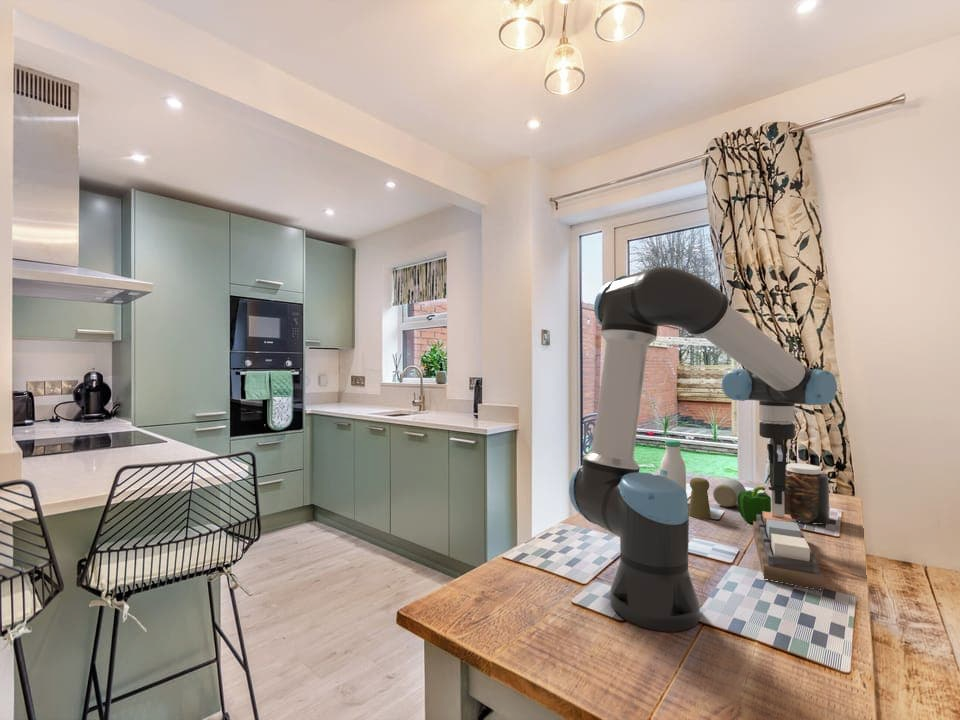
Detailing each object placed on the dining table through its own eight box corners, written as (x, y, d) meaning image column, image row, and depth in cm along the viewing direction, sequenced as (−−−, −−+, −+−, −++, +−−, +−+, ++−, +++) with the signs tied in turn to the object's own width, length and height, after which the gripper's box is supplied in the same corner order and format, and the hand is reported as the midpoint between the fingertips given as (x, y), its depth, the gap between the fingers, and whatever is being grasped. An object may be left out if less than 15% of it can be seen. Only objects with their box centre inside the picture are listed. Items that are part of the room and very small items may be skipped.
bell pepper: (733, 521, 128) (733, 486, 129) (742, 514, 134) (742, 480, 134) (768, 528, 123) (767, 492, 123) (775, 521, 128) (775, 486, 128)
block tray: (823, 591, 89) (823, 565, 89) (764, 580, 93) (763, 555, 93) (798, 538, 115) (798, 519, 115) (753, 532, 120) (752, 513, 120)
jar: (832, 528, 123) (831, 472, 123) (780, 520, 129) (780, 467, 129) (826, 515, 133) (826, 464, 133) (779, 509, 139) (778, 460, 140)
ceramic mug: (711, 505, 143) (711, 481, 143) (721, 499, 149) (721, 476, 149) (748, 513, 135) (748, 488, 135) (757, 507, 141) (757, 483, 141)
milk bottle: (687, 501, 147) (687, 440, 147) (684, 508, 140) (683, 443, 141) (662, 497, 151) (662, 438, 151) (658, 504, 144) (657, 441, 145)
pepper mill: (706, 512, 136) (706, 476, 136) (714, 519, 130) (714, 481, 130) (685, 512, 136) (685, 475, 136) (692, 519, 130) (692, 480, 130)
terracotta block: (793, 534, 110) (793, 522, 110) (764, 530, 112) (764, 518, 112) (790, 526, 115) (790, 514, 115) (762, 522, 118) (762, 511, 118)
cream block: (809, 563, 91) (809, 548, 91) (774, 557, 94) (774, 543, 94) (804, 552, 96) (804, 538, 96) (771, 547, 99) (771, 533, 99)
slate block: (801, 544, 100) (800, 531, 100) (769, 540, 103) (769, 526, 103) (796, 535, 106) (796, 522, 106) (766, 531, 108) (766, 518, 108)
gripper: (799, 426, 106) (800, 526, 106) (790, 419, 118) (791, 510, 118) (761, 424, 110) (762, 521, 110) (757, 418, 122) (758, 506, 121)
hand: (777, 515), depth 114 cm, fingers closed
